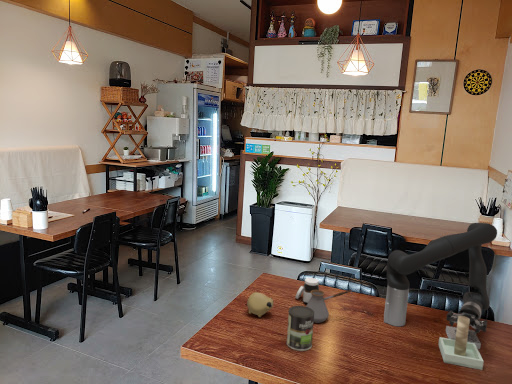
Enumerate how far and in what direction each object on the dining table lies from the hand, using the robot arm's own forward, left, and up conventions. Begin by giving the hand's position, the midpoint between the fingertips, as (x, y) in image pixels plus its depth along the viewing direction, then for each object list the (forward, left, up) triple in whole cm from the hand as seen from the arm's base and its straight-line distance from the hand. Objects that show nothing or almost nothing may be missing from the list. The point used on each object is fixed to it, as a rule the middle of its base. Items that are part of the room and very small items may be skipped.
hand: (463, 327), depth 149 cm
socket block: (+3, +13, -11) cm, 17 cm away
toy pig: (-84, +2, -12) cm, 85 cm away
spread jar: (-66, +25, -12) cm, 71 cm away
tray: (-1, -2, -11) cm, 12 cm away
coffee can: (-62, -16, -12) cm, 65 cm away
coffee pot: (-54, +9, -12) cm, 56 cm away
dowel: (-1, -2, -10) cm, 11 cm away
